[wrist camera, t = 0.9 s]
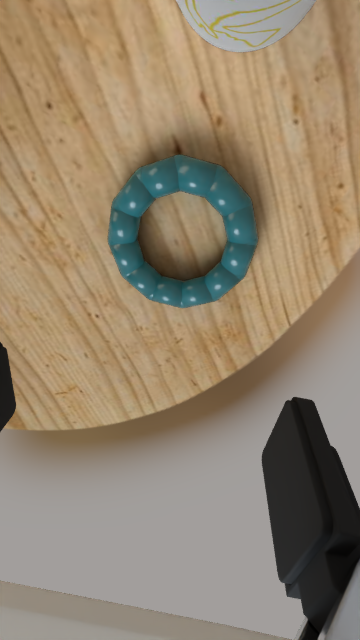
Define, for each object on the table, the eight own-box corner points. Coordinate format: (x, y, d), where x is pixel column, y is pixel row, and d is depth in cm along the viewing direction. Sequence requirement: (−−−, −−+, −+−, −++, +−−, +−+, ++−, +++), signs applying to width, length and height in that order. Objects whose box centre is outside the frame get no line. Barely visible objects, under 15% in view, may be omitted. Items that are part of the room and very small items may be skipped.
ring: (179, 117, 18) (176, 114, 17) (285, 235, 21) (291, 243, 20) (87, 236, 23) (76, 244, 21) (184, 321, 25) (182, 334, 24)
